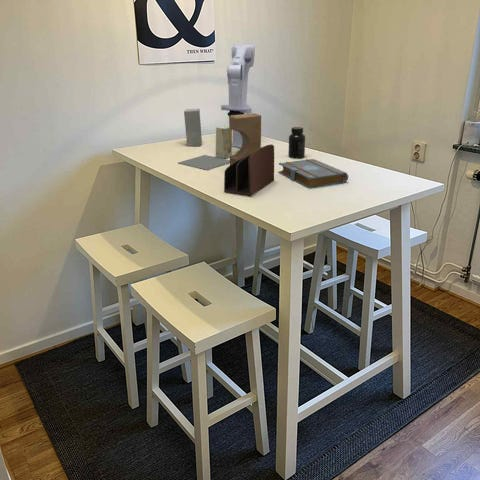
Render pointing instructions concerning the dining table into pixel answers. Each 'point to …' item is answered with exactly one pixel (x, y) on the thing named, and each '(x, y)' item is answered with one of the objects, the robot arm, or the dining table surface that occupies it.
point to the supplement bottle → (296, 143)
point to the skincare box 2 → (223, 142)
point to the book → (313, 173)
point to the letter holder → (250, 172)
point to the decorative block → (246, 134)
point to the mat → (205, 162)
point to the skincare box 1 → (193, 127)
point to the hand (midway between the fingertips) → (235, 129)
